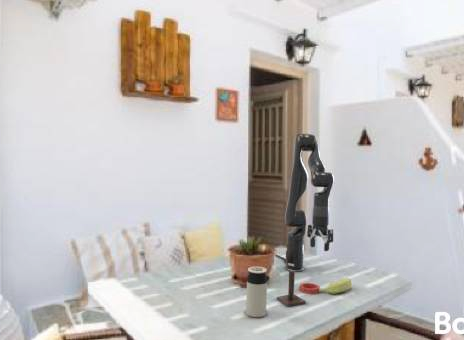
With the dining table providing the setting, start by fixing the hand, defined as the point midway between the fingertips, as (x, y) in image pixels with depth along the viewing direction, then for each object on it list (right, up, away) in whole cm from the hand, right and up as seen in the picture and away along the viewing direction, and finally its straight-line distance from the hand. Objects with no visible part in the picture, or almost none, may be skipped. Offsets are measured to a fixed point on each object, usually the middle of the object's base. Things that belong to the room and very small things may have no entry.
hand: (319, 248), depth 182 cm
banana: (+8, -20, +3) cm, 22 cm away
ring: (-5, -20, +1) cm, 20 cm away
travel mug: (-30, -20, -27) cm, 46 cm away
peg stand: (-15, -20, -14) cm, 29 cm away
